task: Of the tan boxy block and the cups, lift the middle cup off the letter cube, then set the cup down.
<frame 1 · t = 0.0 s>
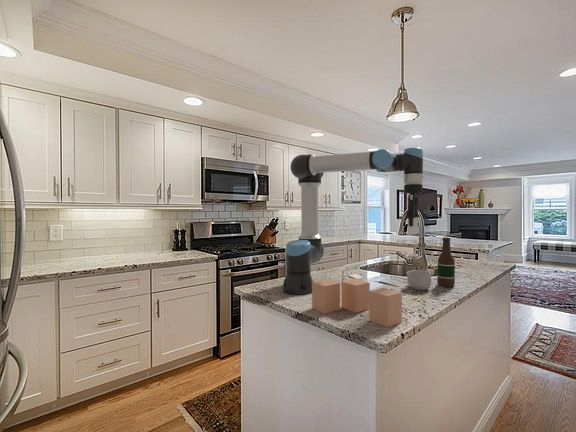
hand: (412, 232, 135), 28 cm above the worktop, tool pointing down, fingers open, 13 cm apart
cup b: (355, 308, 121), on the worktop
beer bottle: (445, 286, 154), on the worktop
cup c: (385, 321, 107), on the worktop
tan boxy block: (325, 308, 120), on the worktop
teacup: (417, 288, 150), on the worktop
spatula: (373, 282, 164), on the worktop
letter cube: (355, 303, 121), in the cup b
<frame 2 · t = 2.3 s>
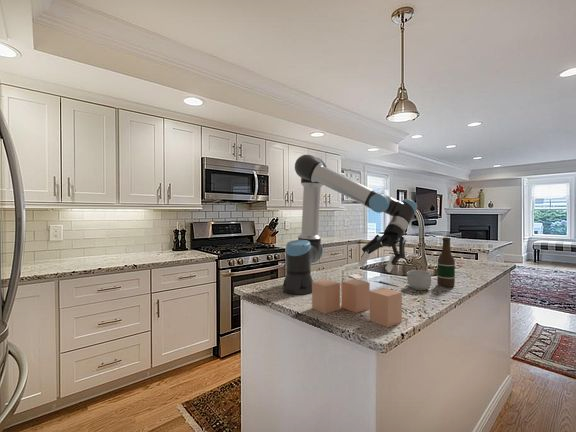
hand: (373, 267, 126), 15 cm above the worktop, tool tilted 45°, fingers open, 13 cm apart
nothing on the worktop moved.
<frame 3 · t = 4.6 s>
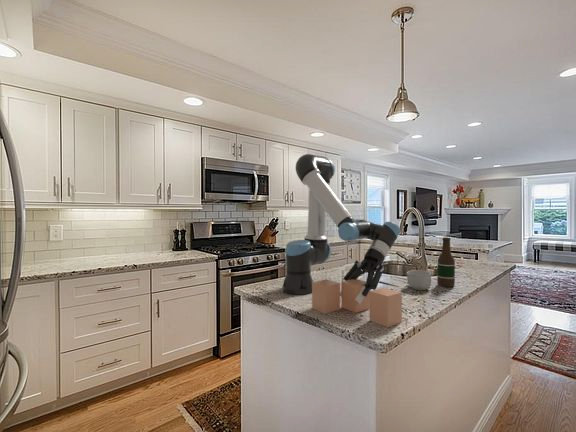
hand: (349, 299, 119), 4 cm above the worktop, tool tilted 45°, fingers closed on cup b, 8 cm apart
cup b: (355, 308, 121), on the worktop, touching gripper
everything else where it was.
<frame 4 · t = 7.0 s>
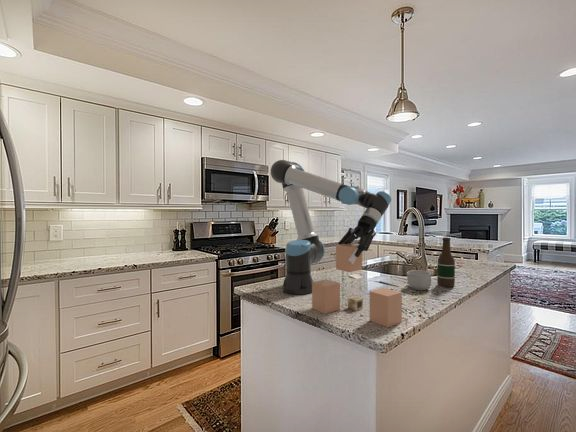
hand: (343, 260, 128), 17 cm above the worktop, tool tilted 45°, fingers closed on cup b, 8 cm apart
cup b: (349, 269, 130), point 13 cm above the worktop, touching gripper
everything else where it was.
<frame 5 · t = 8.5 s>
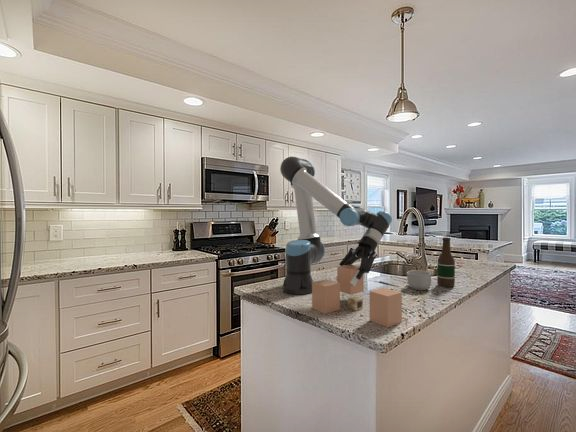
hand: (344, 282, 128), 8 cm above the worktop, tool tilted 45°, fingers closed on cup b, 8 cm apart
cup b: (350, 291, 130), point 4 cm above the worktop, touching gripper
everything else where it was.
when the fingers open (6 cm above the worktop, at t = 9.5 s): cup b drops 1 cm, on the worktop.
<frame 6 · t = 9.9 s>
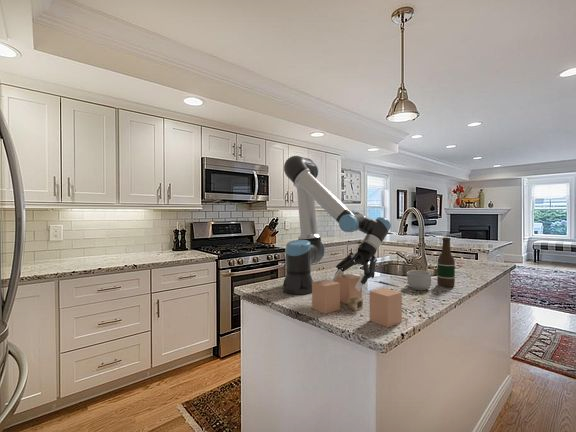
hand: (344, 286, 129), 7 cm above the worktop, tool tilted 45°, fingers open, 12 cm apart
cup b: (348, 300, 131), on the worktop
everything else where it was.
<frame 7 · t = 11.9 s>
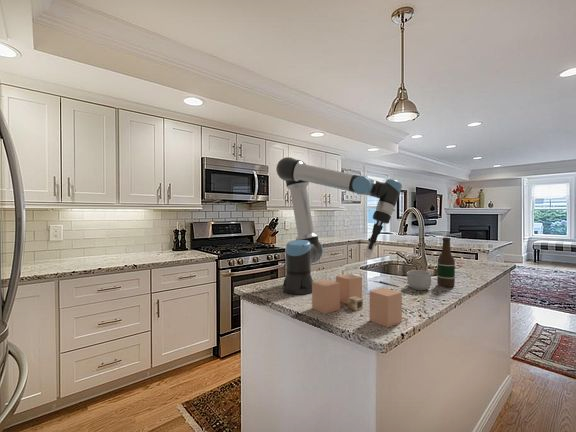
hand: (366, 257, 139), 17 cm above the worktop, tool tilted 20°, fingers open, 13 cm apart
nothing on the worktop moved.
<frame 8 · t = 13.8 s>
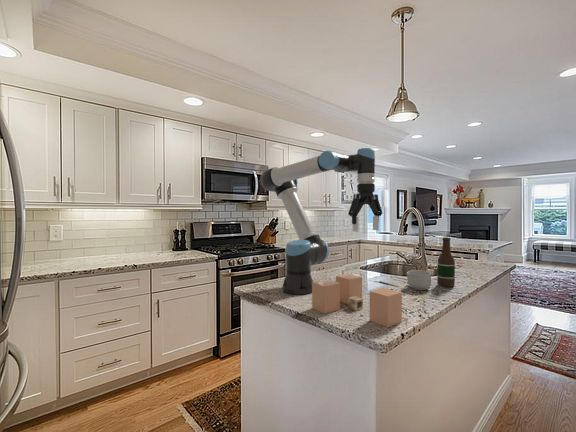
hand: (365, 230, 139), 29 cm above the worktop, tool pointing down, fingers open, 13 cm apart
nothing on the worktop moved.
at the end: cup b inside the target area (0.1 cm from its centre), on the worktop; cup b tilted 0°; the gripper is holding nothing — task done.
